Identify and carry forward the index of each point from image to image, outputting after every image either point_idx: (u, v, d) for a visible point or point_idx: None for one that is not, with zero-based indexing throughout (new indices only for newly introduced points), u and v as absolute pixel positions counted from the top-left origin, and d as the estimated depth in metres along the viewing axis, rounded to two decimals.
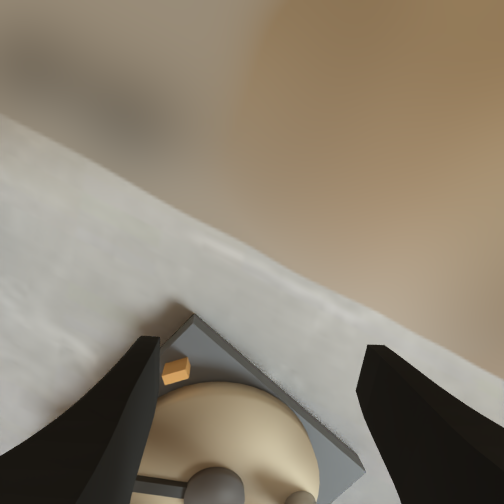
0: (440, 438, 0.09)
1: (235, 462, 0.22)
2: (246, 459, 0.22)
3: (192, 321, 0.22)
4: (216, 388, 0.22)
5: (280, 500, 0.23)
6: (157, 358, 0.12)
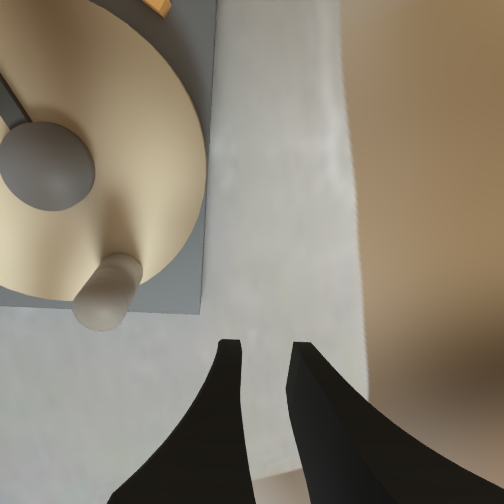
0: (335, 437, 0.08)
1: (107, 159, 0.16)
2: (121, 169, 0.16)
3: None
4: (169, 65, 0.15)
5: (107, 248, 0.17)
6: None
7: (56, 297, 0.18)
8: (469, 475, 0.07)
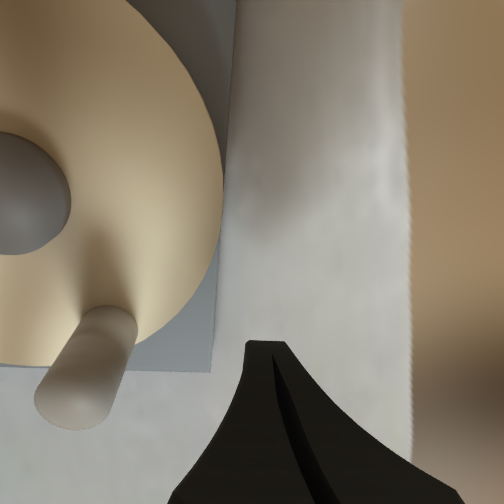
0: (297, 437, 0.08)
1: (87, 183, 0.11)
2: (107, 196, 0.11)
3: None
4: (174, 52, 0.11)
5: (90, 299, 0.13)
6: None
7: (23, 362, 0.13)
8: (422, 475, 0.07)
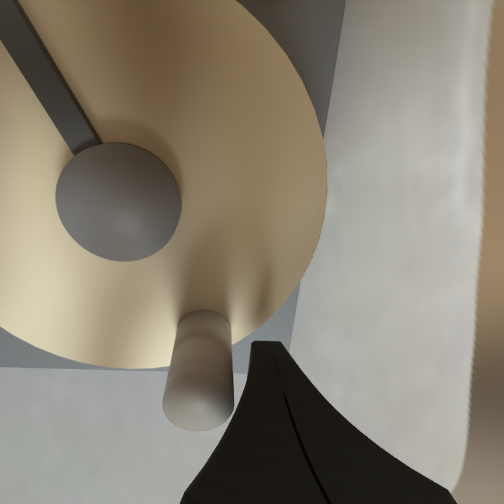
0: None
1: (198, 191, 0.12)
2: (216, 204, 0.12)
3: None
4: None
5: (189, 304, 0.13)
6: None
7: (118, 365, 0.14)
8: (415, 475, 0.07)
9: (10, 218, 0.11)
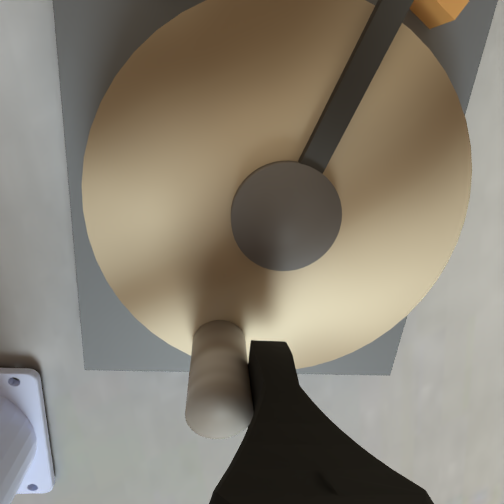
0: None
1: (330, 257, 0.13)
2: (329, 275, 0.13)
3: None
4: None
5: (235, 315, 0.14)
6: None
7: (131, 308, 0.13)
8: (393, 475, 0.06)
9: (201, 142, 0.11)
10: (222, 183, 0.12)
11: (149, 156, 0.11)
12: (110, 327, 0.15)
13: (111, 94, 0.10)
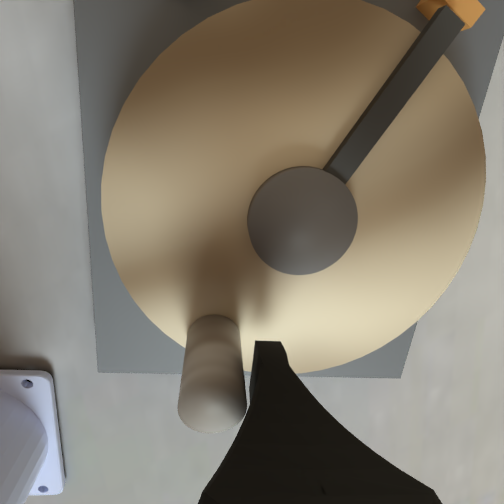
0: None
1: (337, 268, 0.13)
2: (333, 285, 0.14)
3: None
4: None
5: (234, 312, 0.14)
6: None
7: (132, 290, 0.13)
8: (401, 475, 0.06)
9: (232, 135, 0.11)
10: (245, 179, 0.12)
11: (178, 141, 0.11)
12: (124, 330, 0.15)
13: (152, 72, 0.10)
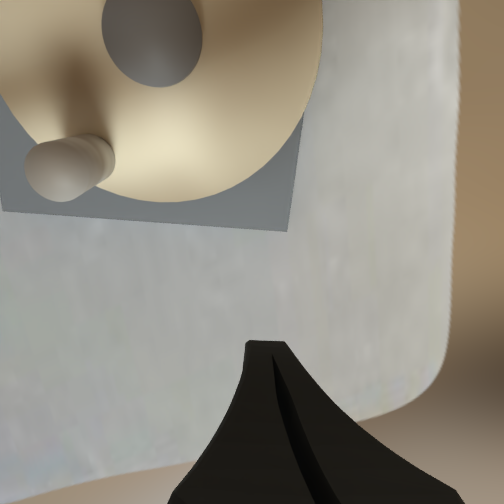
0: (296, 437, 0.08)
1: (196, 89, 0.15)
2: (194, 108, 0.15)
3: None
4: None
5: (107, 132, 0.15)
6: None
7: (10, 103, 0.14)
8: (422, 475, 0.07)
9: None
10: None
11: None
12: (22, 167, 0.17)
13: None
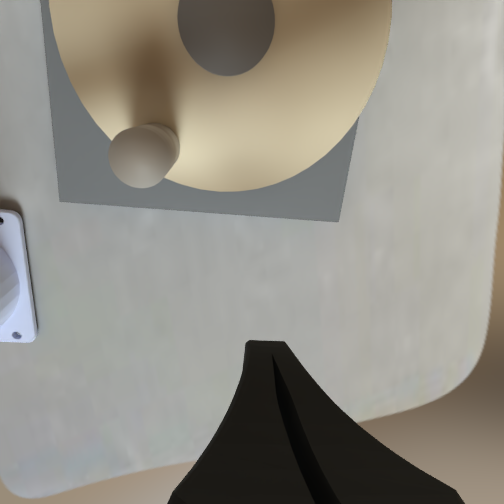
0: (296, 437, 0.08)
1: (263, 78, 0.15)
2: (261, 96, 0.15)
3: None
4: None
5: (173, 121, 0.15)
6: None
7: (80, 92, 0.15)
8: (422, 475, 0.07)
9: None
10: None
11: None
12: (81, 157, 0.17)
13: None
